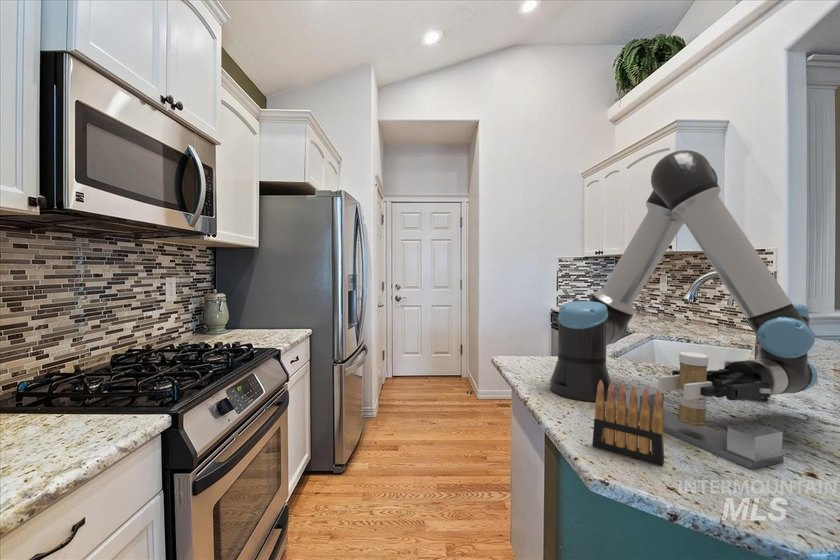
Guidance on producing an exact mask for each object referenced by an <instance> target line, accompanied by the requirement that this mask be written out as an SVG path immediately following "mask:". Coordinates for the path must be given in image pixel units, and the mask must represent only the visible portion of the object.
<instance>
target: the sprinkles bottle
mask: <svg viewBox="0 0 840 560" xmlns="http://www.w3.org/2000/svg"><path fill="white" fill-rule="evenodd" d="M678 362H679V370H680V377H679V390H678V414H677V415H678V417H677V419H678V420H679V421H681V422H683V423H685V424H688V425H693V426H706V424H707V423H706V409H707V397H706V398H698V399H691V400H686V399H683V394H684V384H689V383H697V382H706V379H707V370H708V365H709V356H708V355H707V354H704V353H699V352H693V351H681V352H679V356H678Z"/></svg>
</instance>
